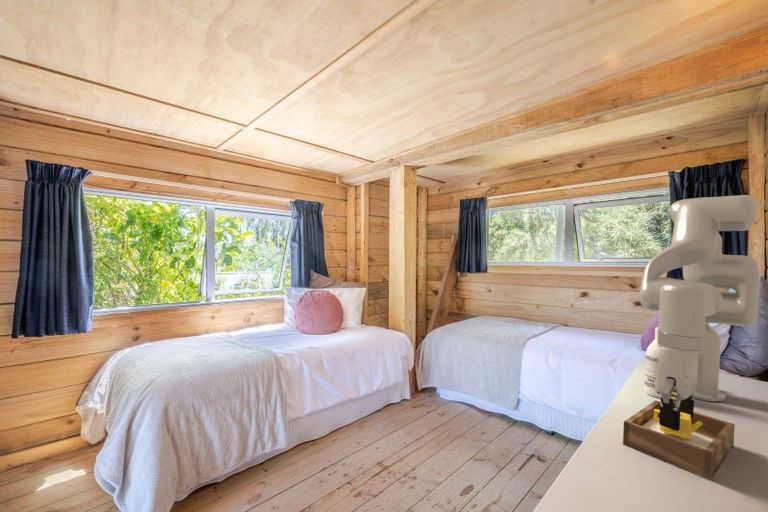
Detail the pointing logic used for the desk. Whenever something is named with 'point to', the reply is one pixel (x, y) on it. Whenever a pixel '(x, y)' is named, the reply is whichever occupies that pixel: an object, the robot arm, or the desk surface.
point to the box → (681, 442)
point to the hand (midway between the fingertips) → (676, 421)
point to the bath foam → (652, 367)
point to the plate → (694, 439)
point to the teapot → (684, 426)
